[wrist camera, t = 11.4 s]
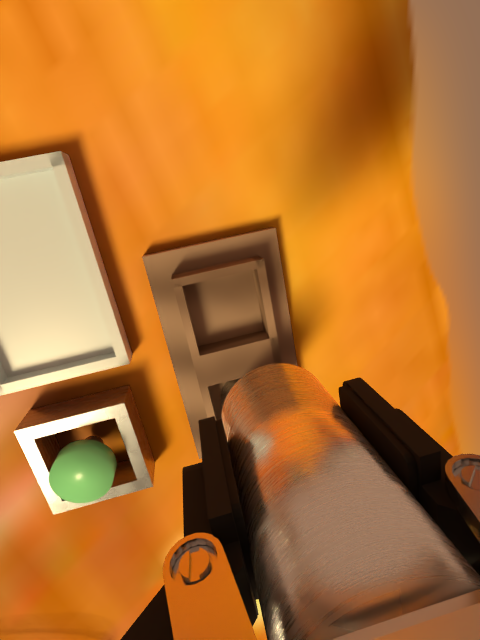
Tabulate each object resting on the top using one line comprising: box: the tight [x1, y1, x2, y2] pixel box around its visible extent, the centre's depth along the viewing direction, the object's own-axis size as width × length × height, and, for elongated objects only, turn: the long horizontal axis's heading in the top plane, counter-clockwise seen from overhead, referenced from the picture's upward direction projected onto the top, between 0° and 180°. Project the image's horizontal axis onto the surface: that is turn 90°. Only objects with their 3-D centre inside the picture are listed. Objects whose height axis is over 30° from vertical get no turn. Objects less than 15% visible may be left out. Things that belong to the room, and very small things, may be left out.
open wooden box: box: [14, 385, 155, 515], centre depth 29 cm, size 8×8×3 cm
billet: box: [222, 363, 480, 640], centre depth 10 cm, size 4×4×8 cm
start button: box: [49, 436, 117, 503], centre depth 28 cm, size 4×4×4 cm
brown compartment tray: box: [142, 227, 298, 459], centre depth 29 cm, size 18×10×3 cm, turn 11°
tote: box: [0, 151, 133, 396], centre depth 25 cm, size 15×10×2 cm, turn 11°
